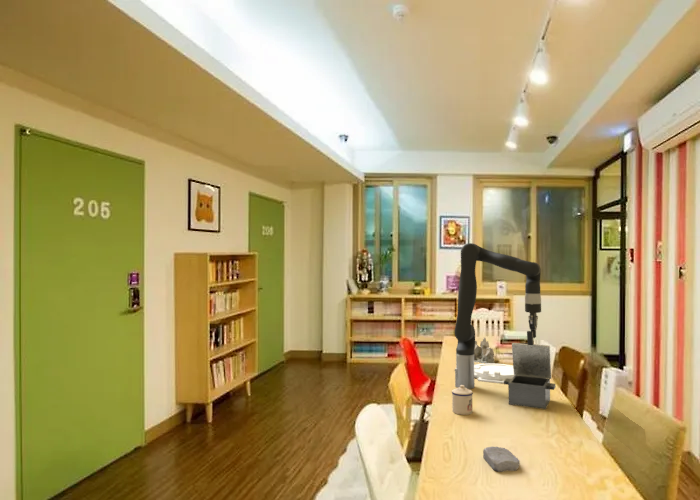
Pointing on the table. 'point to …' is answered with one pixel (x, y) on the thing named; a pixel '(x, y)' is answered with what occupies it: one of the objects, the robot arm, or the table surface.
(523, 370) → the pot lid
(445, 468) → the table surface
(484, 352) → the stone figurine sculpture
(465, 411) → the teacup with lid
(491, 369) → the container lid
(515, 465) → the stone block
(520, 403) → the charcoal pot
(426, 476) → the table surface
